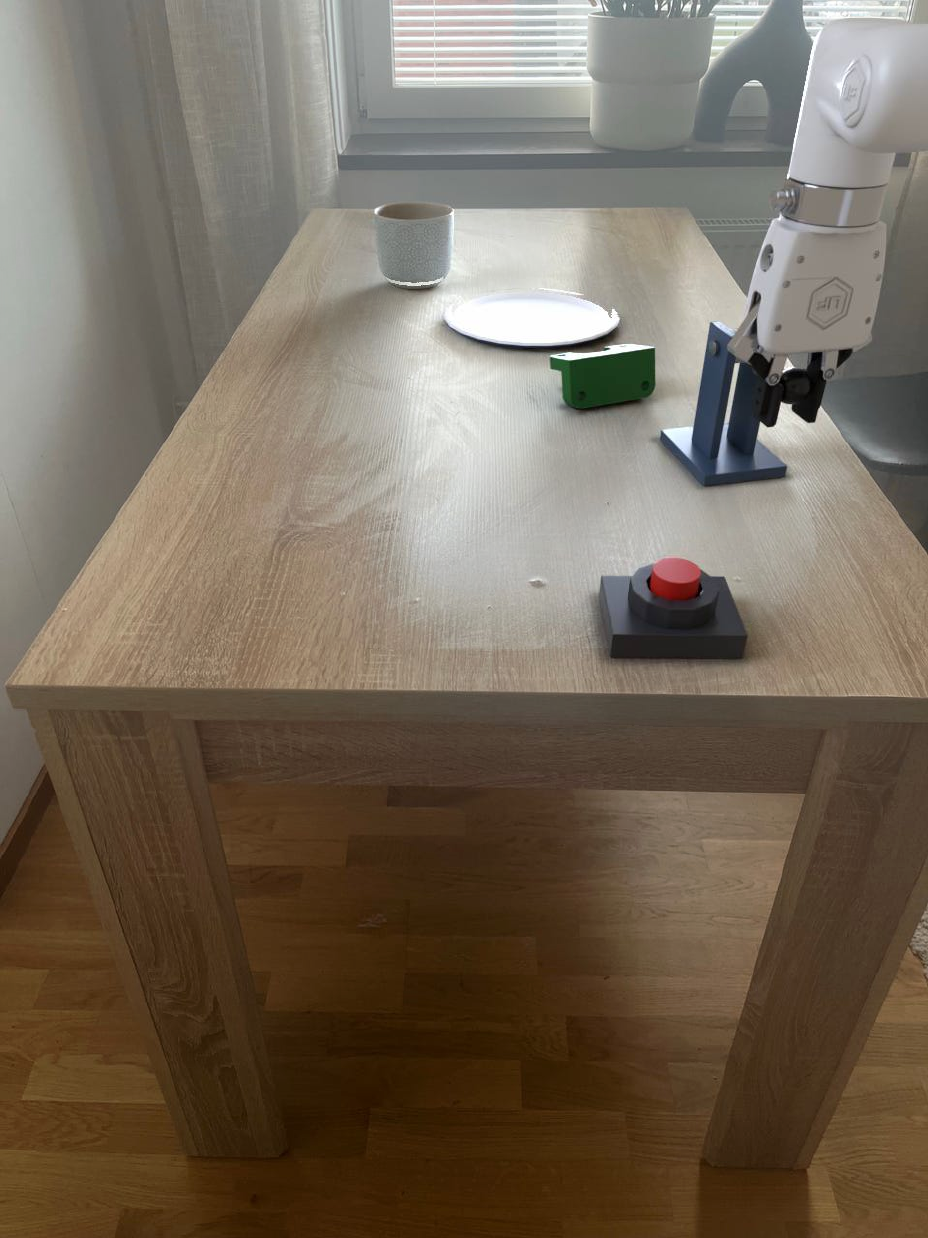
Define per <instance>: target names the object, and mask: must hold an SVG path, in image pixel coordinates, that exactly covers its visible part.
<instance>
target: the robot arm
mask: <svg viewBox="0 0 928 1238" xmlns="http://www.w3.org/2000/svg"><path fill="white" fill-rule="evenodd" d="M927 151H928V23H914V22H912V21H909V20H904V19H898V18H885V17H884V18H883V17H882V18H881V17H848V18H847V17H844V18H838V19H834V20H831V21H829V22H827V23H826V24H825V25H823V26H822V27H821V29H819V31H818V33H817V35H816V37H815V39H814V42H813V45H812V49H811V53H810V60H809V65H808V70H807V75H806V81H805V85H804V90H803V96H802V101H801V106H800V110H799V116H798V122H797V126H796V132H795V137H794V140H793V147H792V152H791V157H790V162H789V166H788V167H789V168H788V171H787V177H786V178H785V179H784V184H783V188H782V189H780V190H774V191H772V192H771V193H770V196H769V207H770V209H771V210H778V213H779V217H778V218H773V219H772V220H771V223H770V225H769V227H768V230H767V232H766V235H765V237H764V240H763V243H762V245H761V248H760V251H759V254H758V257H757V260H756V264H755V267H754V271H753V274H752V278H751V282H750V285H749V289H748V294H747V298H746V303H745V307H744V313H743V320H742V322H741V324H740V325H739V327H738V328H737V329H738V330H737V331H736V333H735V334H734V336H733V337H732V339H731V340H730V342H729V343H728V345H727V350H728V351H729V352H730V353H731V354H733V355H734V356H735V357H737V358H739V359H741V360H742V361H744V362H746V363H747V364H748V365H749V366H750V367H751V368H752V370H753V372H754V373H755V374H756V375H757V376H758V378H757V383H756V387H755V392H754V397H753V402H752V411H753V415H754V416H755V417H756V418H757V419H758V420H759V421H760V424H762V425H764V426H765V427H766V428H774V427H775V426H776V425H777V422H778V418H779V413H780V408H781V404H782V402H781V400H782V396H783V391H784V386H783V385H782V384H781V383H779V381H780V378H781V375H782V372H783V369H785V366H786V363H787V360H788V357H789V355H799V354H807V360H806V368H802V369H803V370H804V371H806V372H807V373H808V375H809V376H810V379H811V390H810V393H809V395H808V396H807V397H806V398H805V399H804V400H803V401H801V402H799V403H797V404H791V411H792V413H794V414H795V415H796V416H798V417H799V418H800V419H802V420H803V421H804V422H805V423H807V424H814V423H816V420H817V416H818V413H819V409H820V407H821V406H822V402H823V398H824V393H825V389H826V385H827V382H828V381H830V380H832V379H833V378H834V377H835V376H836V373H837V369H839V368H840V367H841V366H842V365H843V364H844V363H845V362H846V361H847V360H848V359H849V358H850V357H851V355H852V354H855V353H857V352H858V351H860V350H862V349H864V348H865V347H866V346H868V345H870V344H871V343H872V341H873V333H872V329H873V327H874V326H873V325H874V322H875V317H876V313H877V309H878V304H879V299H880V294H881V289H882V283H883V278H884V271H885V262H886V252H887V251H886V250H887V224H886V223H885V222H883V221H882V220H880V218H881V217H880V216H881V212H882V210H883V205H884V201H885V197H886V194H887V190H888V185H889V181H890V177H891V173H892V168H893V166H894V162H895V158H896V155H897V154H902V153H919V152H921V153H922V152H927ZM755 339H758V343H759V345H760V347H759V350H758V351H757V350H755V349H754V348H752V343H753V341H754V340H755Z"/></svg>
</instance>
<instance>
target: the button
mask: <svg viewBox="0 0 928 1238" xmlns="http://www.w3.org/2000/svg"><path fill="white" fill-rule="evenodd" d="M654 563H655V564H654V565H653V568H652V575H651V582H650V589H651V591H652V592H653V593H654V594H655V595H657V596H659V597H662V598H665V599H669V600H686V601H687V600H690V599H692V598H694V597H695V596H696V595H697V593H698V587H699V582H700V576H701V571H700V569H701V568H700V567H699V566H698V565H697V564H696V563H695V562H692V561H690V560H688V559H685V558H681V557H665V558H661V559H659V560H657V561H656V562H654Z"/></svg>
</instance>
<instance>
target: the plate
mask: <svg viewBox="0 0 928 1238" xmlns="http://www.w3.org/2000/svg"><path fill="white" fill-rule="evenodd" d="M532 288H533V289H534V288H535V287H532ZM538 288H539V287H538ZM539 289H542V288H539ZM543 289H544V290H549V291H554V292H558V293H565V294H566V293H569V294H573V295H574V294H575V295H583V294H582V293H578V292H573V291H567V290H561V289H551V288H543ZM452 303H453V304H452ZM452 303H451V304H452V305H454V302H452ZM451 304H450V305H451ZM450 305H449V306H450ZM452 305H451V306H450V307H449V306H448V307H449V308H448V307H447V308H446V309H447V310H446V309H445V310H446V311H445V310H444V313H445V314H444V316H443V321H444V322H445V323H446V324H447V326H448V327H449V328H450V329H451V330H453V331H455V332H456V333H457V334H459V335H461V336H463V337H466V338H469V339H472V340H474V341H478V342H482V343H487V344H491V345H496V346H502V347H514V348H523V349H548V348H549V349H550V348H560V347H571V346H576V345H580V344H585V343H590V342H594V341H597V340H598V339H601V338H604V337H606V336H608V335H609V334H611V333H612V332H613V331H615V330H616V329H617V328H618V326H619V323H620V320H621V319H620V316H619V314H618V311H617V310H616V309H614V308H613V309H612V313H611V314H612V315H611V317H612V318H610V317H609V315H608V312H607V311H605V310H604V309H603V308H602V307H600V306H599V305H596V304H594V303H592V302H590V301H587V300H583V299H580V298H576V297H573V296H567V295H561V294H554V293H541V292H513V293H500V294H494V295H489V296H483V297H480V298H476V299H473V300H470V301H468V302H466V303H464V304H462V305H460V306H459V307H458V308H457V309H456V310H455V312H454V316H453V312H451V309H453V308H452V307H453V306H452ZM615 310H616V311H617V312H616V311H615ZM617 314H618V315H617ZM618 316H619V317H618Z"/></svg>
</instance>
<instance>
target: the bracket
mask: <svg viewBox="0 0 928 1238" xmlns="http://www.w3.org/2000/svg"><path fill="white" fill-rule="evenodd" d="M730 329H731V328H729V327H728V326H727V325H725V324H723V323H722V322H721V321H710V322H709V327H708V333H707V340H706V346H705V351H704V358H703V365H702V369H701V370H702V371H701V376H700V382H699V383H700V384H699V389H698V396H697V403H696V408H695V414H694V422H693V426H685V427H675V428H666V429H660V434H659V441H660V442H661V443H662V444H663V445H664V446H665V447H666V448H667V449H668V451H670V452H671V453H672V455H674V457H676V459H677V460H678V461H679V462H680V463H681V464H682V465H683V466H684V467H685V468H686V469H687V471H689V472H690V473H691V475H692V476H693V477H694V478H695V479H696V480H697V481H698V482H699V483H700V484H701V485H702V486H703V487H707V486H716V485H717V486H718V485H724V484H725V485H726V484H731V483H733V484H734V483H741V482H750V481H760V480H768V479H776V478H777V479H778V478H784V477H786V474H787V471H788V465H787V464H786V463H784V461H782V460H781V459H780V458H779V457H778V456H777V455H775V453H773V452H772V451H771V450H770V449H769V448H768V447H766V446H765V445H764V444H763V443H762V442H761V441H760V440H758V435H759V431H760V430H759V429H760V425H761V422H760V421H759V420H758V419H757V418H756V417H755V416H754V415H753V411H752V402H753V397H754V392H755V387H756V383H757V378H758V376H757V375H756V374H755V373H754V372H753V370H752V368H751V367H750V366H749V365H748V364H747V363H746V362H745V363H738V370H737V376H736V380H735V386H734V392H733V397H732V398H733V399H732V403H731V409H730V414H729V419H728V422H725V421H726V416H727V415H726V414H727V410H728V405H729V398H730V393H731V387H732V382H733V381H732V380H733V376H734V371H735V365H736V363H735V360H736V357H735V356H734V355H733V354H731V353H730V352H729V351H728V350H727V345H728V343H729V342H730V340H731V339H732V337H733V336H734V334H735V332H733V331H732V330H730ZM759 347H760V345H759V344H758V349H759Z"/></svg>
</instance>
